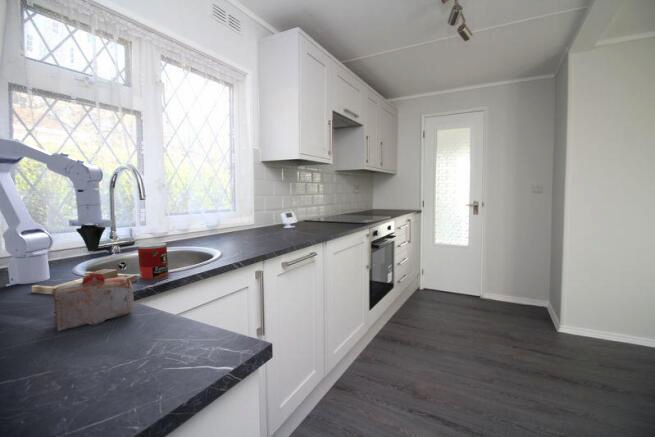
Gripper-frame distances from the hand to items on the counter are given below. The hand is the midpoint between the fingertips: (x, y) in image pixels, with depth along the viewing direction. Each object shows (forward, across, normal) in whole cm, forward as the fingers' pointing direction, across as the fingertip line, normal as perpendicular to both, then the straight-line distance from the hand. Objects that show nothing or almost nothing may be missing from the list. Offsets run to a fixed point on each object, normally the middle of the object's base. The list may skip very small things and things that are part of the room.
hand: (93, 250), depth 95 cm
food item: (+10, +27, -21) cm, 35 cm away
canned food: (+10, +15, +7) cm, 19 cm away
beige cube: (+9, +11, -6) cm, 15 cm away
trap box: (+10, +4, -6) cm, 12 cm away
